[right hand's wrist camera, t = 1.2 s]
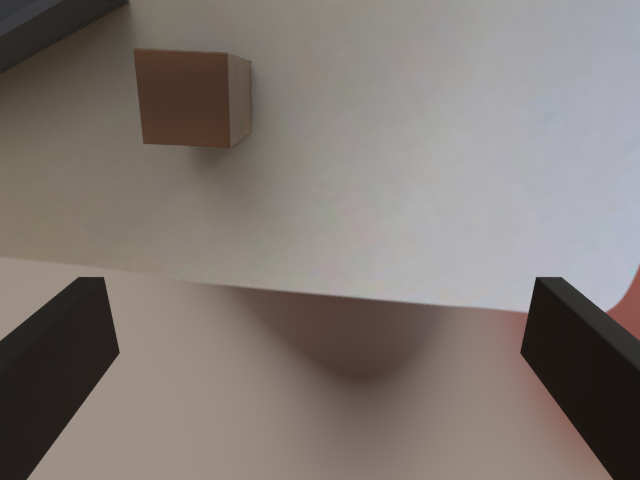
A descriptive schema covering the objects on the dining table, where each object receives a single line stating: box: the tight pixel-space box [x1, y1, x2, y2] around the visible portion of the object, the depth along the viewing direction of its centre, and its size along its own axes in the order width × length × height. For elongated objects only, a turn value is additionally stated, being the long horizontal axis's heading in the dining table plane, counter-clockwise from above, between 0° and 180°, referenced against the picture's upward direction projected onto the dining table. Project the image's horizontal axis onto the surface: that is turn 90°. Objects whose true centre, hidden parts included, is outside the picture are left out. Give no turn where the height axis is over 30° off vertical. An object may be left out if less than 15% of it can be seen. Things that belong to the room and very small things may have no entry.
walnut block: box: [134, 48, 252, 147], centre depth 24 cm, size 4×4×8 cm
